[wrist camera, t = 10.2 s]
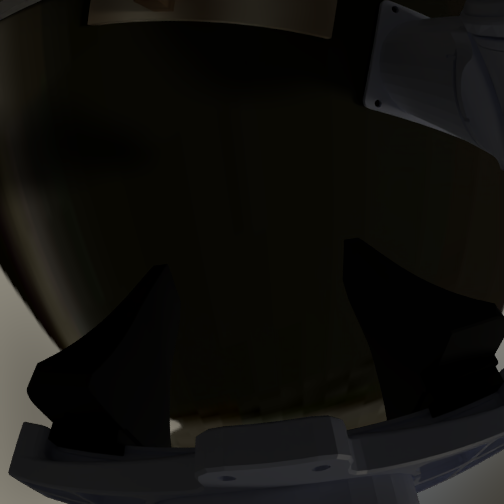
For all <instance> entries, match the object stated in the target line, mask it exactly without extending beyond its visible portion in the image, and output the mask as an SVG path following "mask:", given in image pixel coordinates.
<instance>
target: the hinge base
mask: <svg viewBox="0 0 504 504" xmlns="http://www.w3.org/2000/svg"><path fill="white" fill-rule="evenodd" d="M336 6H337V0H91V2H90V9H89V17H88V25H93V26H95V25H103V24H113V23H125V22H142V21H202V22H219V23H231V24H242V25H251V26H259V27H266V28H273V29H279V30H285V31H291V32H297V33H302V34H307V35H312V36H316V37H321V38H325V39H329V38H331V37H332V31H333V25H334V19H335V12H336Z"/></svg>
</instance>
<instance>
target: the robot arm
mask: <svg viewBox="0 0 504 504" xmlns="http://www.w3.org/2000/svg"><path fill="white" fill-rule="evenodd" d="M392 7H395V9H396V13H395V12H393V11H392ZM376 100H379V106H377V107H376V106H375V101H376ZM363 104H364V106H365V107H367V108H369V109H372V110H376V111H380V112H383V113H387V114H390V115H394V116H397V117H401V118H404V119H407V120H410V121H413V122H416V123H419V124H422V125H425V126H428V127H431V128H434V129H437V130H440V131H443V132H445V133H448V134H451V135H453V136H456V137H459V138H461V139H464V140H466V141H468V142H470V143H472V144H473V145H475V146H477V147H479V148H481V149H483V150H484V151H486V152H488V153H490V154H491V155H493V156H494V157H495V158H496V159H497V160H498V162H499V164H500V167H501V169H502V170H503V171H504V0H466V2H465V5H464V8H463V10H462V11H461V13H460V16H452V17H439V18H429V17H427V16H425V15H423V14H421V13H418V12H416V11H414V10H411V9H409V8H407V7H404V6H402V5H399V4H397V3H394V2H391V1H388V0H385V1H382V2H381V3H380V6H379V12H378V19H377V25H376V31H375V37H374V43H373V49H372V55H371V60H370V65H369V71H368V76H367V81H366V86H365V91H364V96H363ZM343 282H344V286H345V289H346V292H347V295H348V299H349V301H350V304H351V306H352V308H353V310H354V312H355V315H356V317H357V319H358V321H359V324H360V326H361V328H362V330H363V332H364V335H365V337H366V339H367V342H368V344H369V347H370V350H371V353H372V357H373V360H374V363H375V367H376V371H377V375H378V379H379V383H380V387H381V391H382V396H383V401H384V405H385V411H386V417H387V421H384V422H380V423H376V424H372V425H368V426H364V427H360V428H355V429H351V430H346V426H345V424H344V422H343V420H341V419H339V418H335V417H331V416H328V415H327V416H310V417H304V418H297V419H291V420H283V421H275V422H267V423H258V424H248V425H236V426H223V427H218V428H212V429H208V430H206V431H205V432H203V433H201V434H200V435H198V436H197V437H196V446H195V448H171V440H170V415H169V406H170V375H171V367H172V361H173V355H174V350H175V344H176V339H177V334H178V328H179V322H180V299H179V296H178V293H177V290H176V287H175V284H174V281H173V278H172V275H171V272H170V269H169V266H168V264H163V265H156V266H153V267H152V268H151V269H150V270H149V272H148V273H147V274H146V275H145V276H144V277H143V278H142V280H141V281H140V282H139V283H138V284H137V285H136V287H135V288H134V289H133V290H132V291H131V292H130V293H129V295H128V296H127V297H126V298H125V299H124V300H123V301H122V302H121V303H120V304H119V305H118V306H117V307H116V308H115V309H114V311H113V312H111V313H110V314H109V315H108V316H107V317H106V318H105V319H104V320H103V321H102V322H101V323H99V324H98V325H97V326H96V327H95V328H93V329H92V330H91V331H90V332H88V333H87V334H86V335H84V336H83V337H82V338H80V339H79V340H78V341H76V342H75V343H73V344H72V345H70V346H68V347H67V348H65V349H64V350H62V351H60V352H59V353H57V354H55V355H53V356H51V357H49V358H47V359H45V360H43V361H41V362H39V363H38V364H37V366H36V368H35V370H34V373H33V375H32V377H31V380H30V382H29V385H28V387H27V394H28V396H29V398H30V400H31V401H32V402H33V403H34V405H35V406H36V407H37V408H38V409H40V411H41V412H43V414H45V415H46V416H47V417H48V418H49V419H50V420H51V421H52V422H53V424H52V427H51V429H50V428H48V427H46V426H43V425H38V424H33V423H28V422H24V423H23V425H22V429H21V431H20V434H19V438H18V441H17V444H16V447H15V451H14V454H13V457H12V461H11V464H10V468H9V472H8V473H9V475H11V476H12V477H14V478H15V479H17V480H18V481H20V482H22V483H23V484H25V485H27V486H29V487H30V488H32V489H33V490H35V491H37V492H39V493H41V494H43V495H44V496H46V497H48V498H51V499H54V500H58V501H61V502H64V503H68V504H419V501H418V497H417V493H418V492H421V491H423V490H425V489H428V488H430V487H432V486H435V485H437V484H439V483H441V482H443V481H446V480H448V479H450V478H452V477H454V476H456V475H458V474H460V473H462V472H464V471H466V470H468V469H469V468H471V467H473V466H475V465H477V464H479V463H481V462H482V461H484V460H486V459H487V458H490V457H491V456H493V455H495V454H497V453H498V452H500V451H502V450H503V449H504V369H502V370H501V371H500V372H498V370H497V368H496V365H497V364H498V360H497V358H496V357H495V353H496V351H497V349H498V348H499V346H500V344H501V342H502V340H503V338H504V316H503V314H502V313H501V312H500V310H499V309H498V308H497V306H496V305H495V304H494V303H490V302H485V301H481V300H476V299H472V298H469V297H466V296H462V295H459V294H456V293H453V292H451V291H448V290H445V289H443V288H441V287H438V286H436V285H434V284H431V283H429V282H427V281H425V280H423V279H421V278H419V277H417V276H416V275H414V274H412V273H410V272H409V271H407V270H405V269H404V268H402V267H400V266H399V265H397V264H396V263H394V262H393V261H391V260H390V259H388V258H387V257H385V256H384V255H382V254H381V253H380V252H378V251H377V250H375V249H374V248H373V247H371V246H370V245H368V244H367V243H365V242H364V241H363V240H361V239H359V238H354V239H346V240H344V263H343Z"/></svg>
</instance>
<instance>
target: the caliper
mask: <svg viewBox="0 0 504 504" xmlns="http://www.w3.org/2000/svg"><path fill="white" fill-rule="evenodd" d="M38 1H41V0H3V1H1V2H0V20H2V19H3V18H5V17H7V16H9V15H11V14H13V13H15V12H17V11H19V10H21V9H23V8H25V7H27V6H30V5H32V4H34V3H36V2H38Z"/></svg>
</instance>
